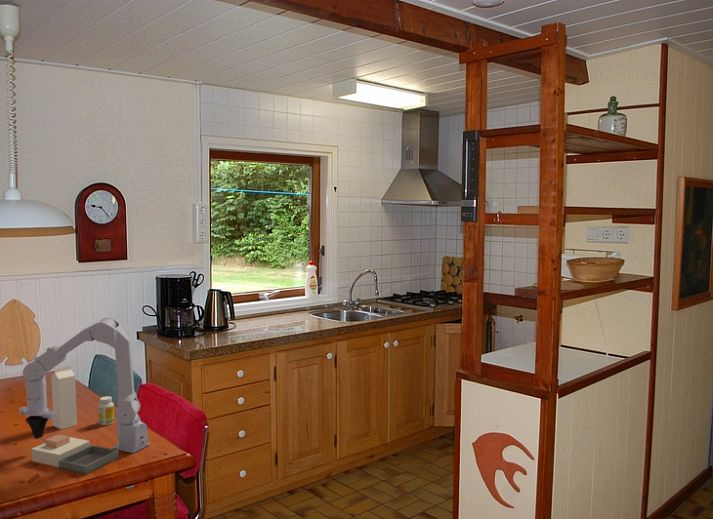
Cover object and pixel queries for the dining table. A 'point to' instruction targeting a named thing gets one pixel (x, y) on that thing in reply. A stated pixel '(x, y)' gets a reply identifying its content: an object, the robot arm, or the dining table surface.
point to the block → (57, 441)
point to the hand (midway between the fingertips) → (38, 437)
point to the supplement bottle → (106, 411)
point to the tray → (88, 459)
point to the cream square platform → (57, 451)
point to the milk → (64, 398)
